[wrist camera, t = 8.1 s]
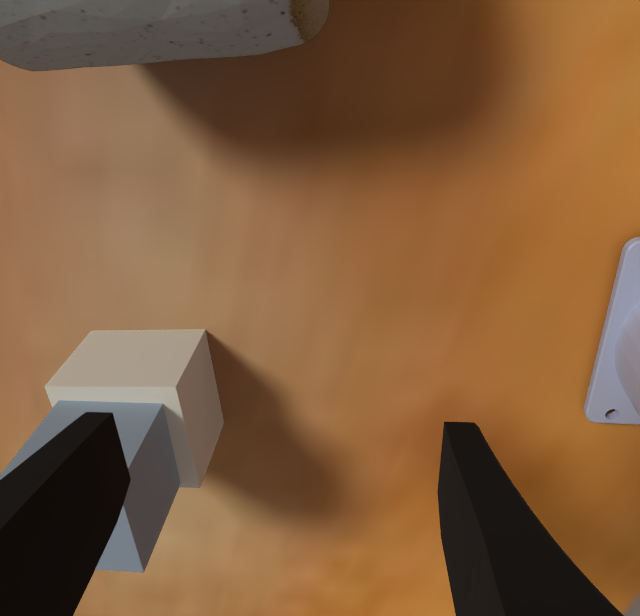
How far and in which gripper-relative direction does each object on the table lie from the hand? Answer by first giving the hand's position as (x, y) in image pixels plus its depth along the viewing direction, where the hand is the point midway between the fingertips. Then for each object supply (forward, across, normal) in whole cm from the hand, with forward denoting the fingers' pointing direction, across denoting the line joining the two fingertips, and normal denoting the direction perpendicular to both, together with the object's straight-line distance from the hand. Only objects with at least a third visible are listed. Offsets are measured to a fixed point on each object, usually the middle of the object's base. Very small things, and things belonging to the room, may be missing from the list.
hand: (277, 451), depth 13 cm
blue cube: (+7, +8, +6) cm, 12 cm away
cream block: (+11, +7, +6) cm, 14 cm away
